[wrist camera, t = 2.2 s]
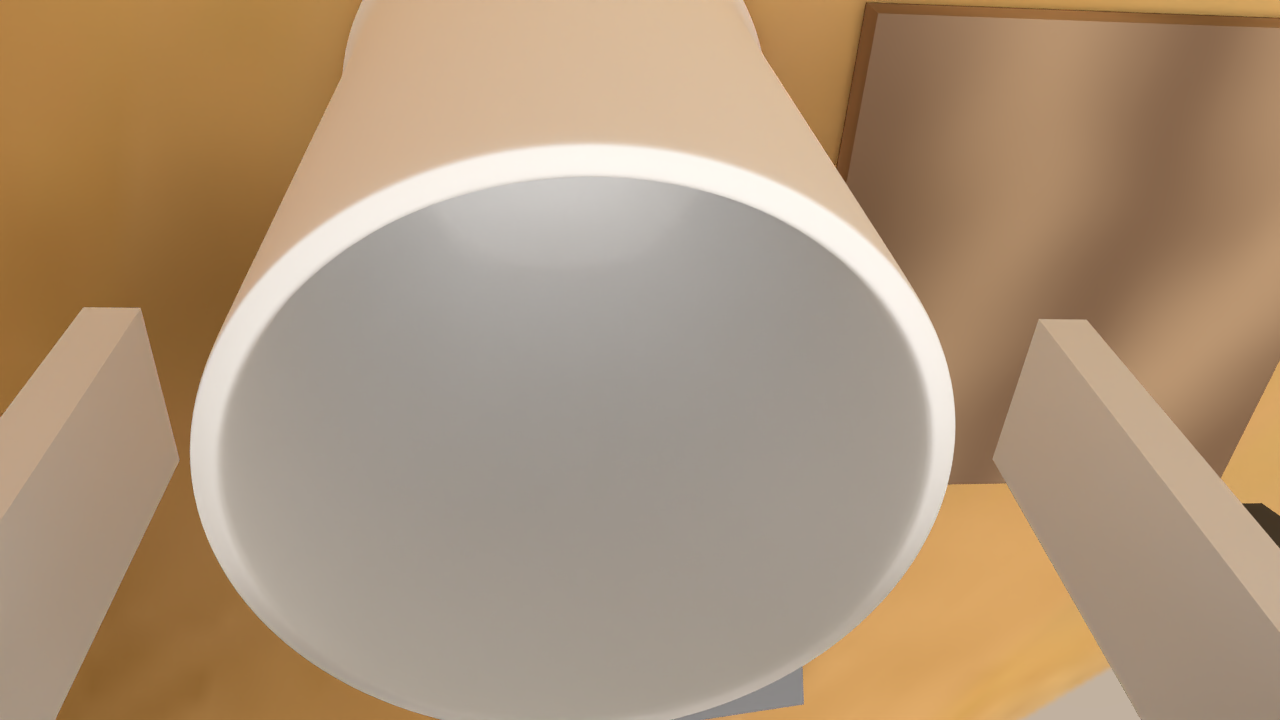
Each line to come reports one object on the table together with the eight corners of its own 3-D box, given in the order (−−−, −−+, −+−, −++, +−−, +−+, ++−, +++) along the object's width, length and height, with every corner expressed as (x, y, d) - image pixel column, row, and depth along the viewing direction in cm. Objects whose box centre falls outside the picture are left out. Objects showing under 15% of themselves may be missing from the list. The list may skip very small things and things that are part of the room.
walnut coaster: (782, 467, 26) (789, 486, 26) (866, 2, 20) (877, 13, 19) (1203, 461, 28) (1220, 479, 27) (1413, 23, 21) (1442, 34, 20)
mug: (740, 394, 25) (879, 857, 15) (396, 412, 24) (305, 909, 14) (779, -120, 18) (1071, 102, 9) (308, -116, 18) (33, 130, 8)
